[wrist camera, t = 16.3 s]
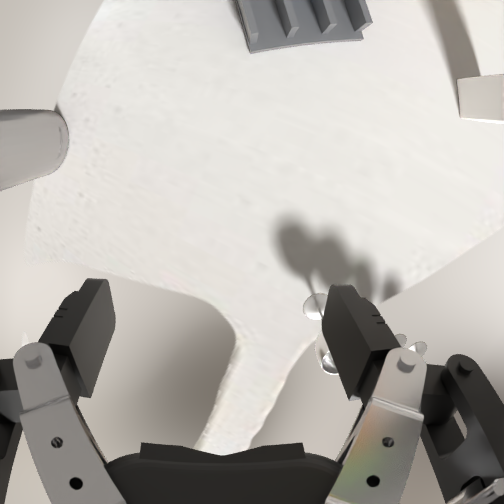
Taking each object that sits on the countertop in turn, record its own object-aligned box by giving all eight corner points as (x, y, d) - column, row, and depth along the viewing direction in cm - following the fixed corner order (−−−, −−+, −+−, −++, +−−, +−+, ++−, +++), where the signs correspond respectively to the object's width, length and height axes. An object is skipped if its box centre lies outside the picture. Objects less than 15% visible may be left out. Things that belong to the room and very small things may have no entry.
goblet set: (293, 315, 44) (310, 380, 32) (315, 283, 42) (342, 343, 30) (414, 366, 50) (444, 416, 37) (434, 343, 48) (469, 391, 36)
